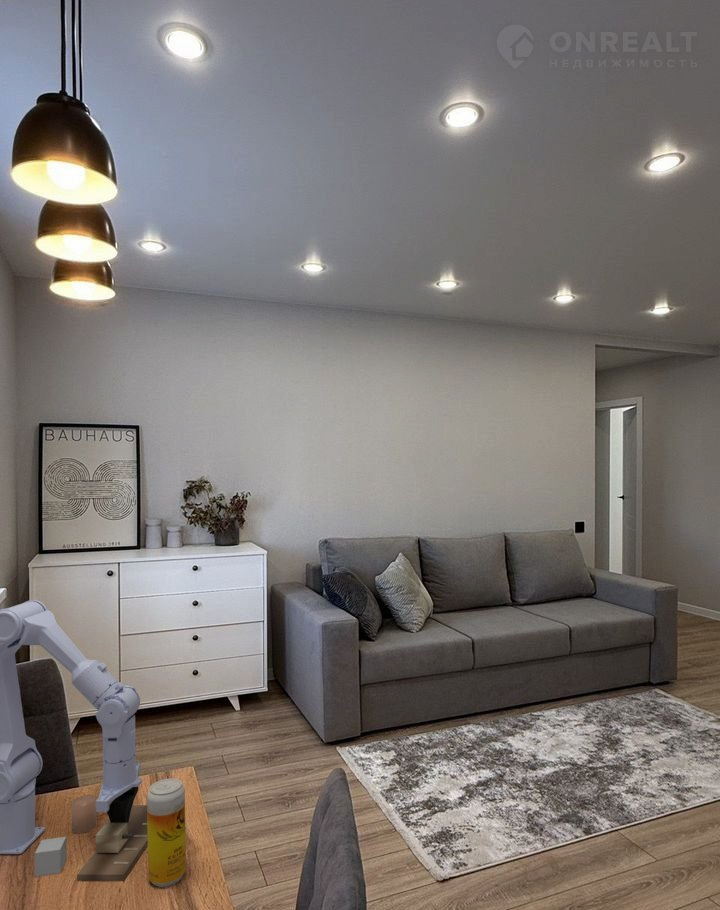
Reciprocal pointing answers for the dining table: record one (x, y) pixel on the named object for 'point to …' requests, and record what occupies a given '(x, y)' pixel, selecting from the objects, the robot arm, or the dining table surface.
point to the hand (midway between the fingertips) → (120, 831)
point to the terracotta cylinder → (83, 814)
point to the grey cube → (50, 856)
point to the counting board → (125, 859)
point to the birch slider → (112, 837)
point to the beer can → (166, 832)
